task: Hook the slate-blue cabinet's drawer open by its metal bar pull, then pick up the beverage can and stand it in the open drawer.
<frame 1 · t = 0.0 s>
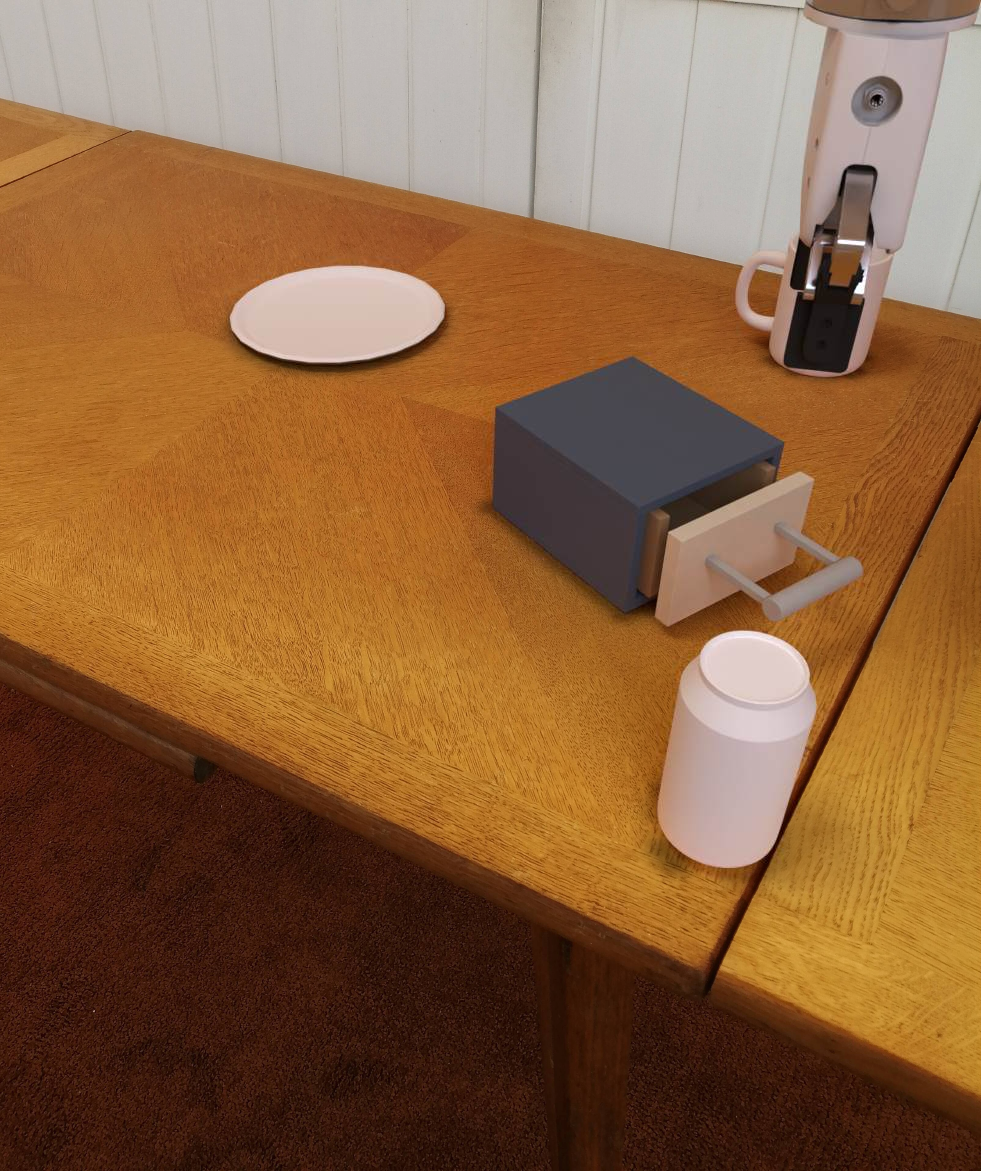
hand: (815, 326, 60), 19 cm above the table, tool pointing down, fingers open, 9 cm apart
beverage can: (713, 831, 58), on the table
drawer: (700, 525, 71), point 4 cm above the table, slide at 2.0 cm
cup: (793, 354, 97), on the table
plate: (338, 322, 105), on the table
cabinet: (622, 526, 78), on the table
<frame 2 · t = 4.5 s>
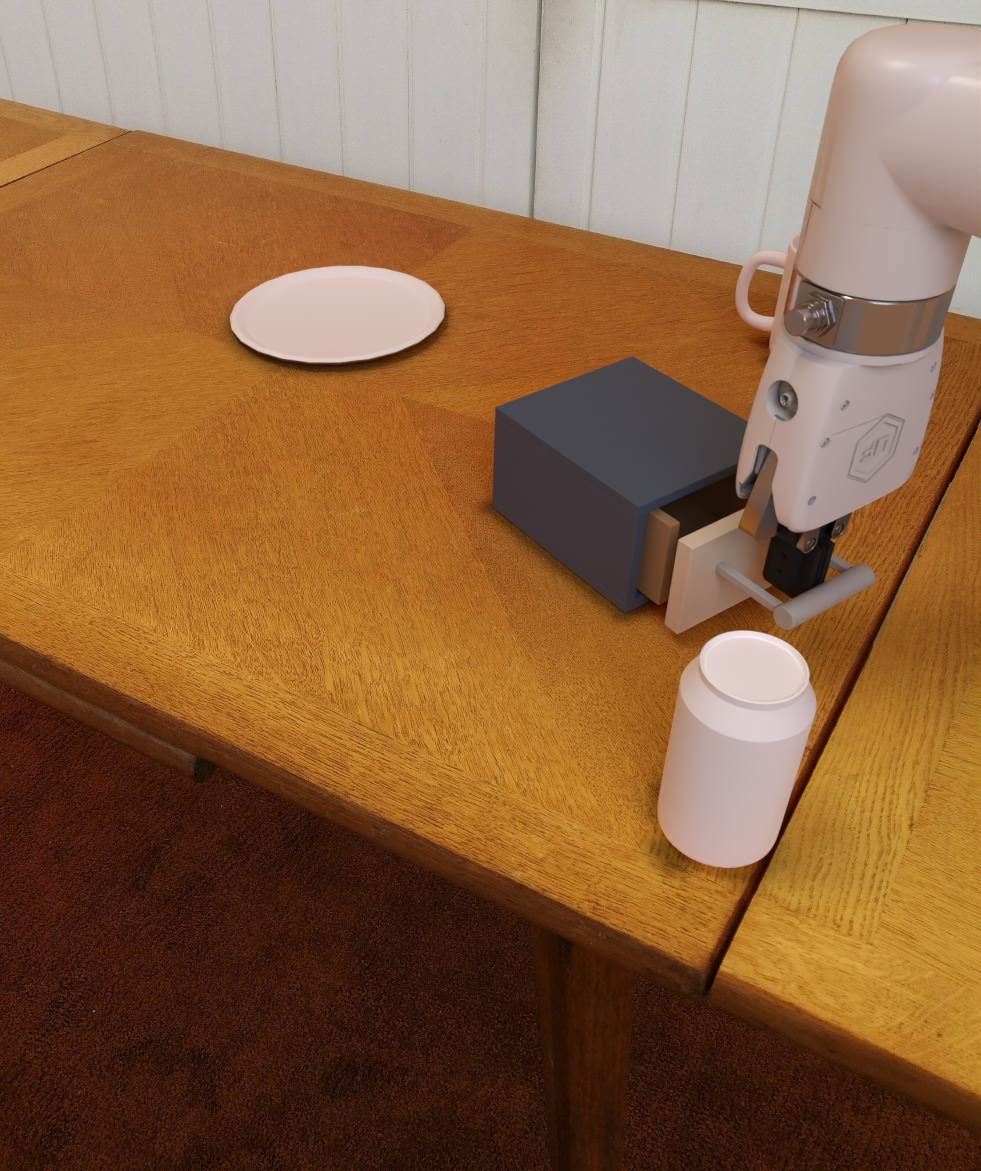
hand: (790, 586, 66), 4 cm above the table, tool pointing down, fingers closed
drawer: (709, 531, 70), point 4 cm above the table, slide at 2.9 cm
everything else where it was.
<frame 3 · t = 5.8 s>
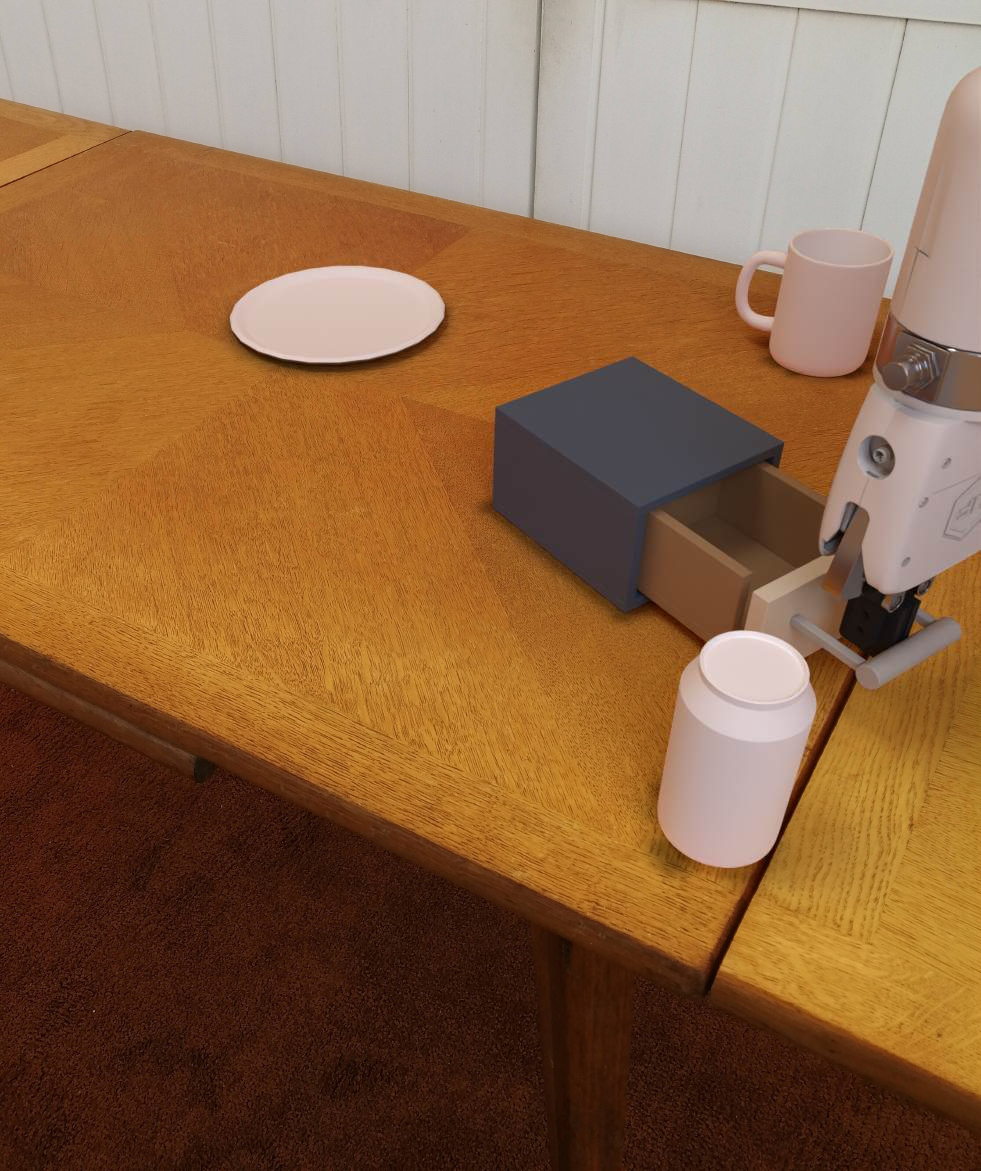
hand: (869, 643, 62), 4 cm above the table, tool pointing down, fingers closed
drawer: (779, 578, 66), point 4 cm above the table, slide at 8.7 cm, touching gripper
everything else where it was.
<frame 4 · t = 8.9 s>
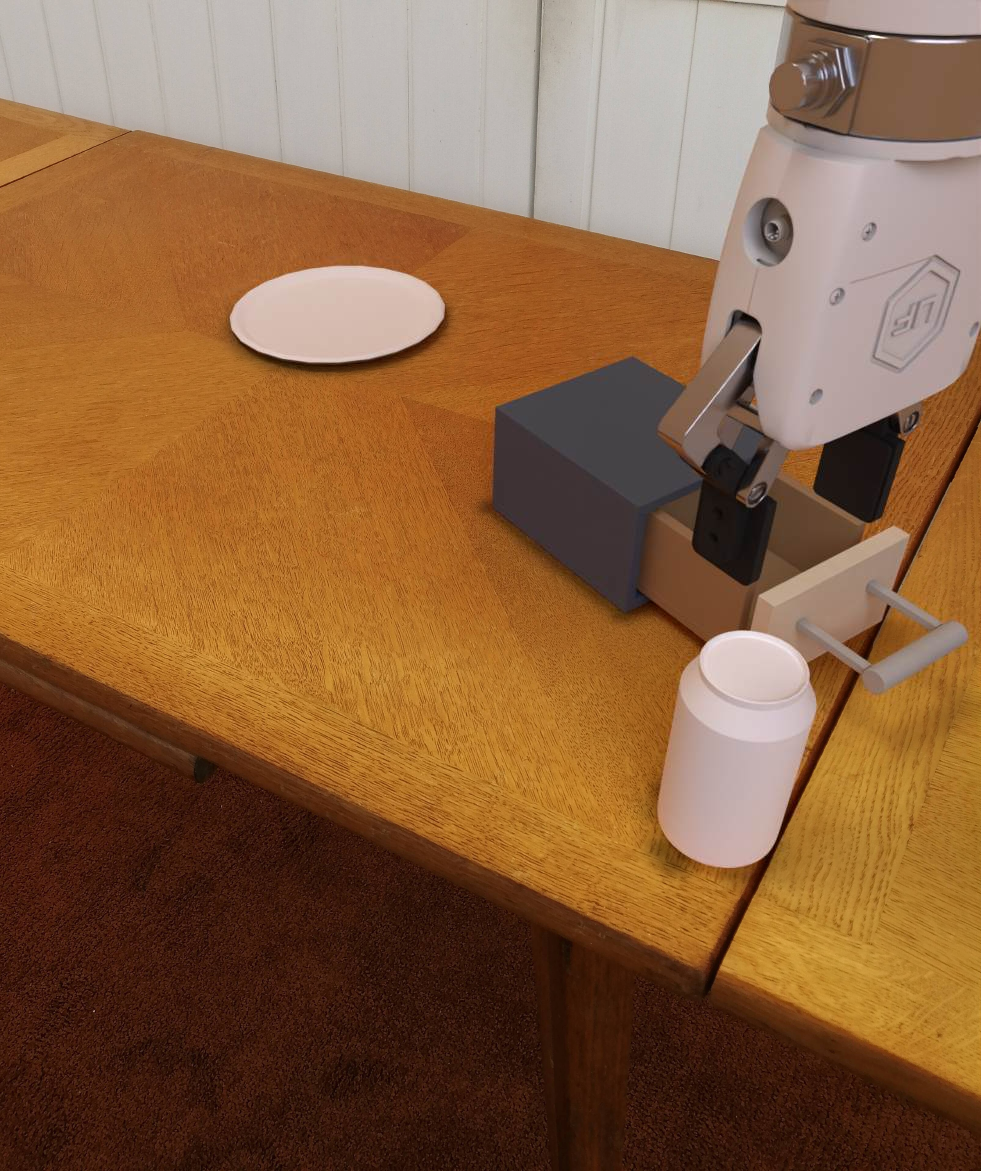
hand: (787, 532, 45), 20 cm above the table, tool pointing down, fingers open, 6 cm apart
drawer: (784, 582, 66), point 4 cm above the table, slide at 9.1 cm
everything else where it was.
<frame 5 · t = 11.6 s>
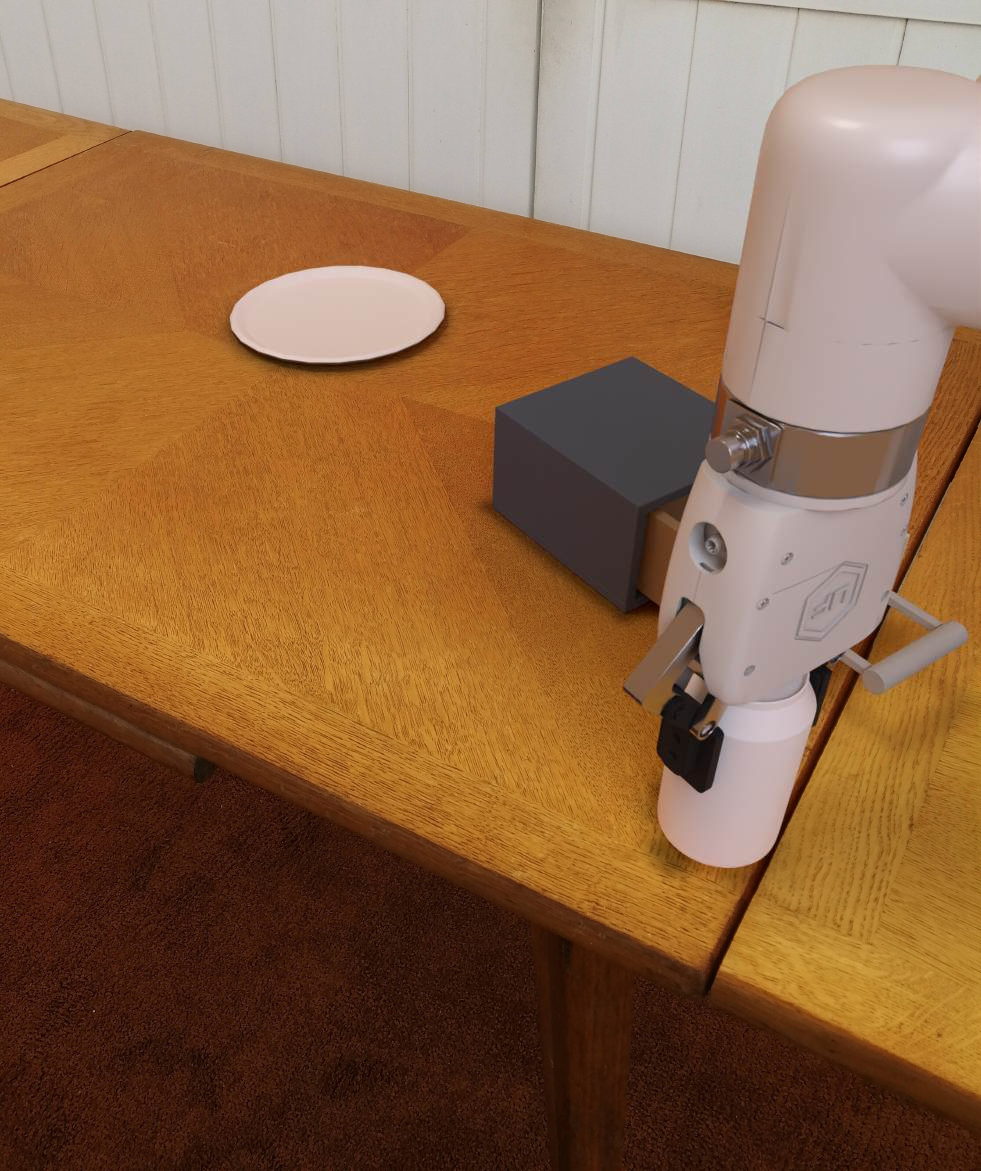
hand: (736, 738, 53), 7 cm above the table, tool pointing down, fingers closed on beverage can, 6 cm apart
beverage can: (713, 831, 58), on the table, touching gripper
everything else where it was.
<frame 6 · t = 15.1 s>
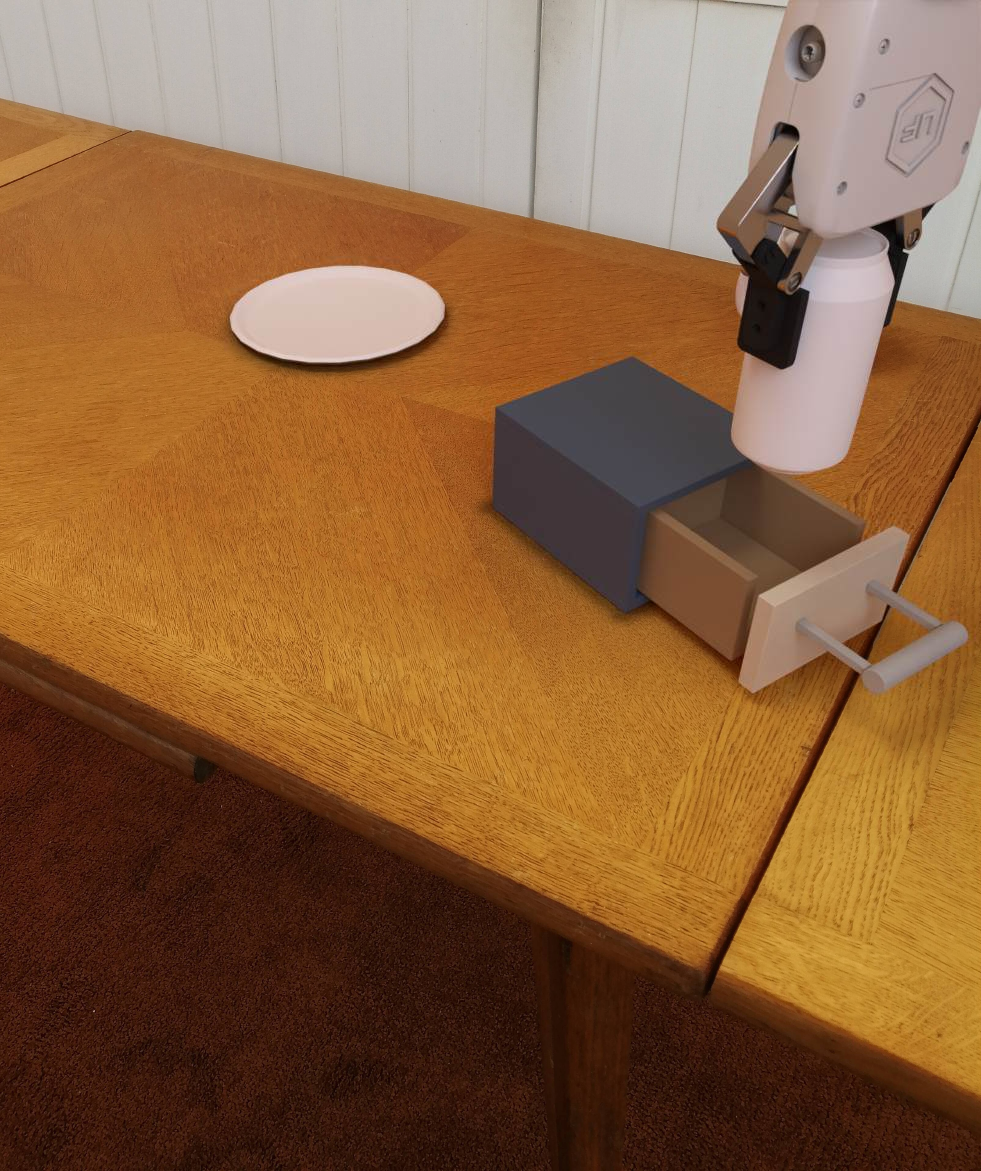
hand: (813, 335, 55), 21 cm above the table, tool pointing down, fingers closed on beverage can, 6 cm apart
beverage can: (785, 455, 59), point 14 cm above the table, touching gripper
everything else where it was.
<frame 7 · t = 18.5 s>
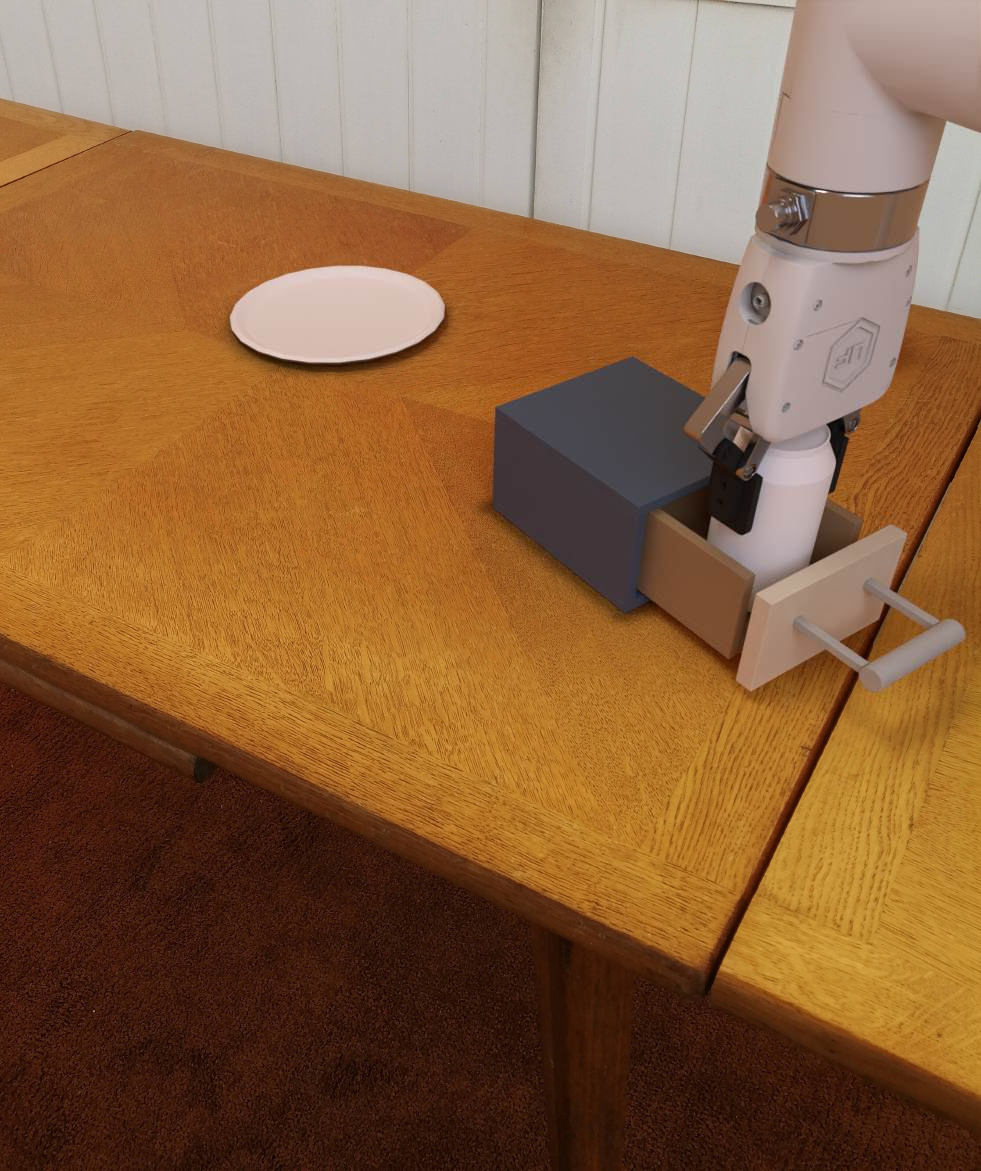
hand: (769, 500, 65), 9 cm above the table, tool pointing down, fingers closed on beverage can, 6 cm apart
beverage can: (748, 592, 69), point 2 cm above the table, touching drawer, gripper
drawer: (781, 580, 66), point 4 cm above the table, slide at 9.0 cm, touching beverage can
everything else where it was.
when the fingers open (9 cm above the table, at t = 18.6 s): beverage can stays where it is, resting on drawer.
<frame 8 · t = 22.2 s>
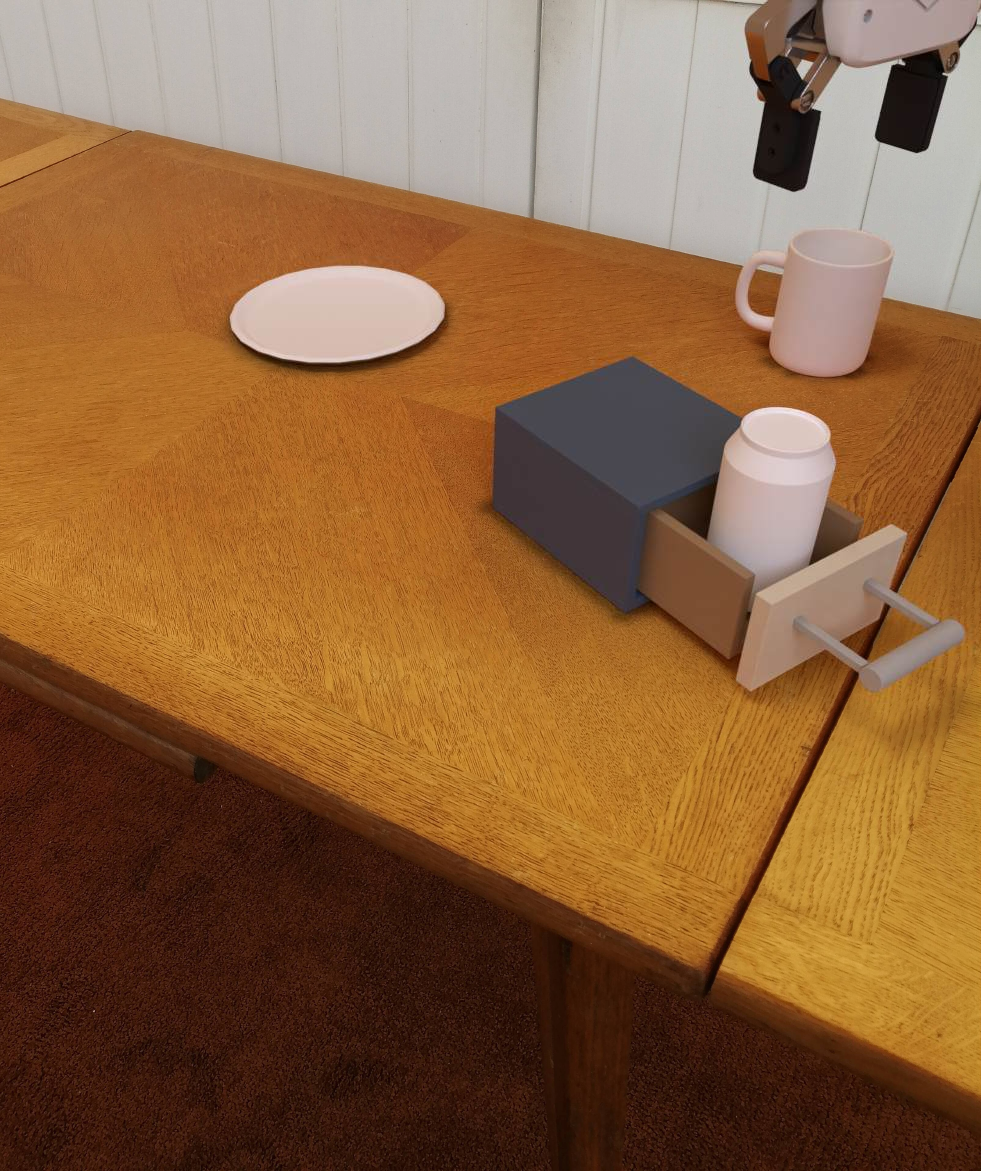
hand: (840, 164, 59), 26 cm above the table, tool pointing down, fingers open, 9 cm apart
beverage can: (748, 592, 69), point 2 cm above the table, touching drawer
everything else where it was.
at the end: drawer slide at 8.9 cm; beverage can inside the target area in the drawer (0.2 cm from its centre), point 1.8 cm above the cabinet's base; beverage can tilted 0° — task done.
